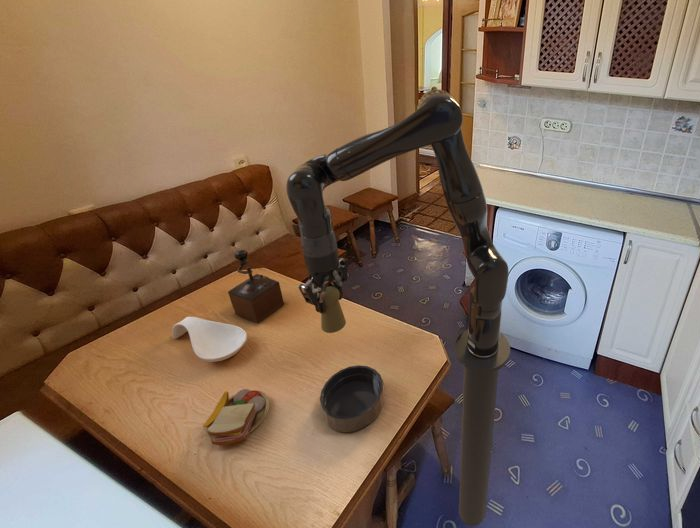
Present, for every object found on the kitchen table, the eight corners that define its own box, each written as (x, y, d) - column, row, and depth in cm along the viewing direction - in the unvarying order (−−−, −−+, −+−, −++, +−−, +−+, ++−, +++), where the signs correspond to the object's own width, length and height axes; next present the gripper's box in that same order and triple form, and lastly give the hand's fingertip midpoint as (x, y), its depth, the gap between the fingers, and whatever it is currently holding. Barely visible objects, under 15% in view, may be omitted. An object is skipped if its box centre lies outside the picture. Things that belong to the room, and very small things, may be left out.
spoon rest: (258, 342, 102) (253, 323, 100) (220, 374, 92) (213, 354, 89) (199, 321, 109) (193, 302, 106) (158, 349, 99) (149, 329, 96)
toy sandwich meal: (280, 393, 88) (276, 380, 86) (250, 450, 76) (245, 436, 74) (229, 393, 88) (224, 379, 86) (190, 449, 75) (184, 435, 73)
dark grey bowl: (350, 371, 94) (348, 357, 92) (395, 391, 89) (394, 377, 87) (309, 418, 82) (306, 403, 80) (358, 444, 77) (356, 429, 75)
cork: (346, 329, 91) (340, 295, 86) (321, 335, 89) (314, 300, 84) (345, 314, 96) (340, 281, 91) (321, 319, 94) (314, 285, 90)
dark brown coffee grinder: (287, 303, 118) (276, 257, 111) (257, 324, 109) (244, 276, 101) (253, 290, 123) (241, 246, 116) (223, 310, 114) (207, 263, 107)
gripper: (308, 267, 75) (320, 328, 83) (353, 237, 87) (360, 292, 95) (282, 259, 78) (296, 318, 85) (330, 230, 90) (338, 285, 97)
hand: (330, 304), depth 90 cm, fingers closed on cork, 5 cm apart
